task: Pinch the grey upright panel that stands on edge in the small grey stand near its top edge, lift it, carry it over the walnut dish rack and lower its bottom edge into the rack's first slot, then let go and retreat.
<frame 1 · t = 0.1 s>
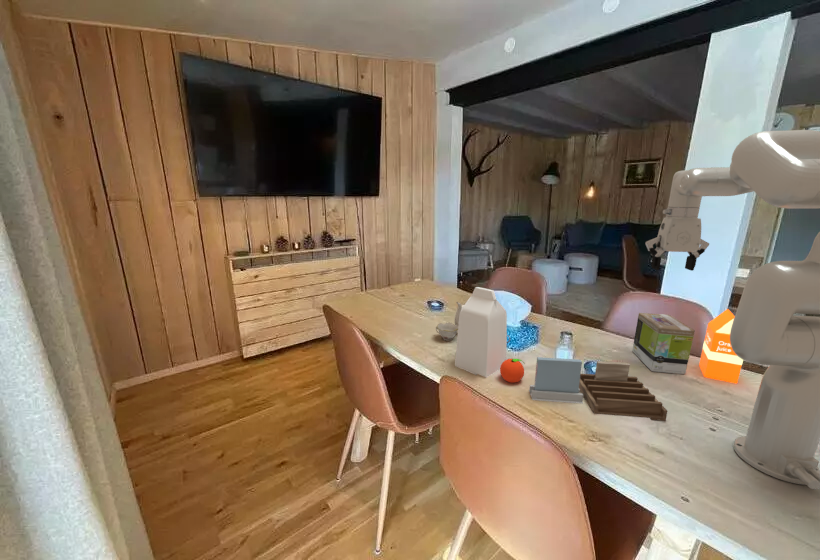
hand: (672, 269, 108), 31 cm above the table, tool pointing down, fingers open, 9 cm apart
chinaware: (471, 339, 134), on the table
milk: (480, 366, 112), on the table
clementine: (512, 381, 104), on the table
grey upright panel: (555, 396, 94), point 1 cm above the table, touching stand
rack: (616, 401, 93), on the table
stand: (554, 398, 95), on the table
tea box: (656, 362, 114), on the table
orange juice: (716, 374, 107), on the table
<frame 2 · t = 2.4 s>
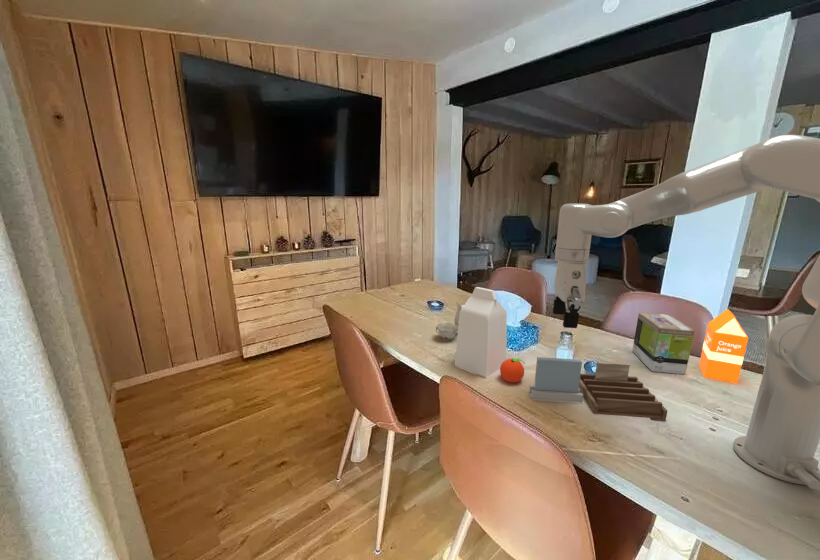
hand: (564, 320, 89), 23 cm above the table, tool pointing down, fingers open, 9 cm apart
nothing on the table moved.
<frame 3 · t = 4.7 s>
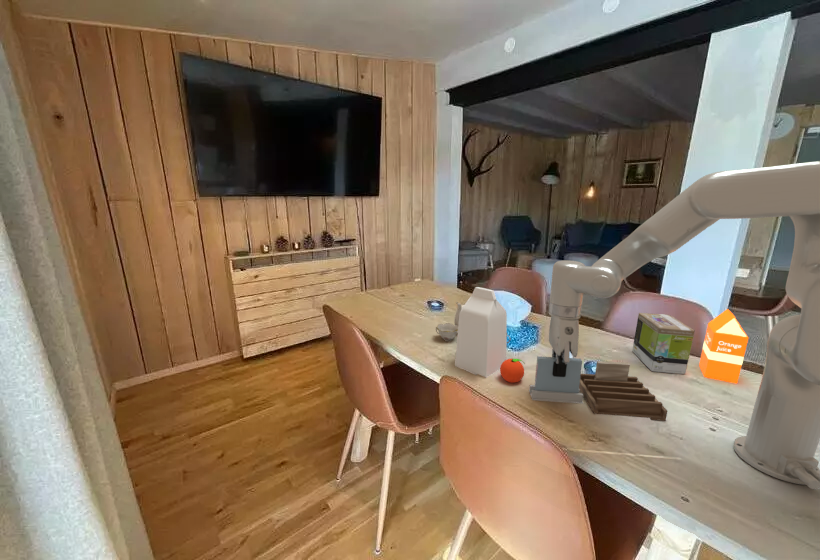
hand: (557, 374, 93), 7 cm above the table, tool pointing down, fingers closed on grey upright panel, 1 cm apart
grey upright panel: (555, 395, 94), point 1 cm above the table, touching gripper
everything else where it was.
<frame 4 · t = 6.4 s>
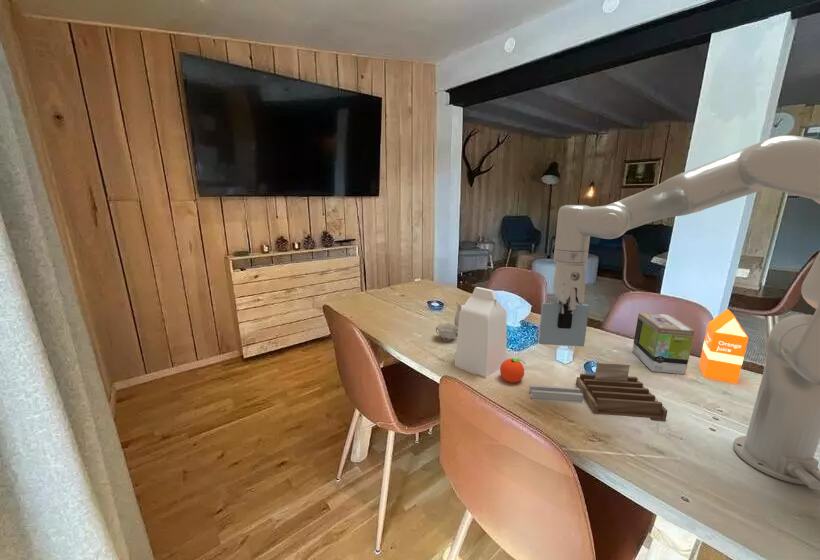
hand: (563, 326, 89), 21 cm above the table, tool pointing down, fingers closed on grey upright panel, 1 cm apart
grey upright panel: (560, 344, 91), point 16 cm above the table, touching gripper
everything else where it was.
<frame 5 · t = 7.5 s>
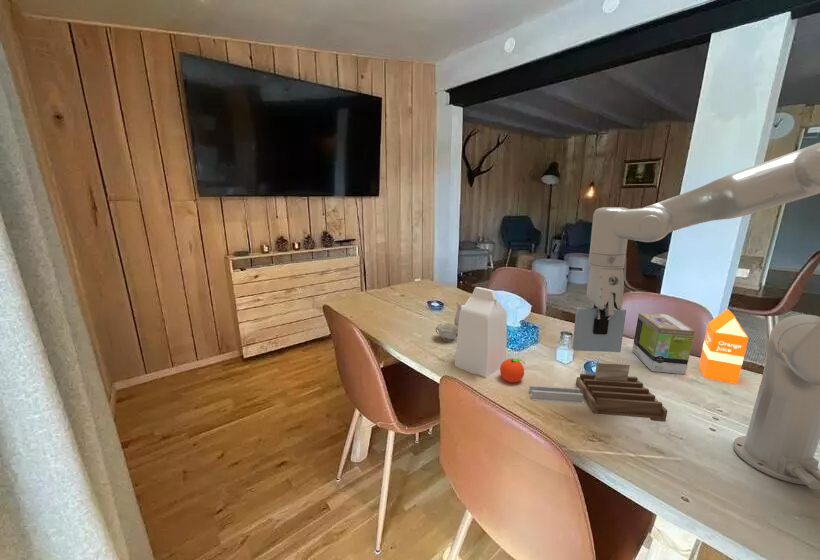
hand: (598, 332, 87), 21 cm above the table, tool pointing down, fingers closed on grey upright panel, 1 cm apart
grey upright panel: (596, 350, 88), point 16 cm above the table, touching gripper
everything else where it was.
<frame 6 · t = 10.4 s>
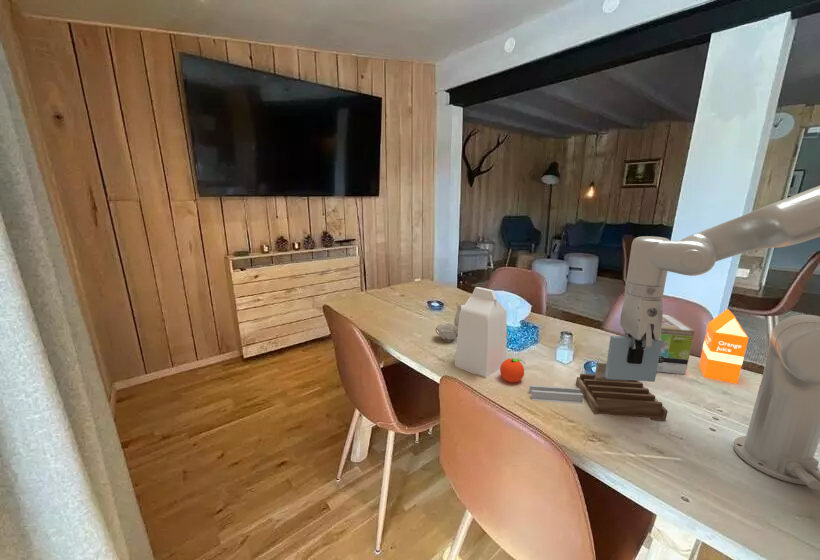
hand: (632, 361, 86), 14 cm above the table, tool pointing down, fingers closed on grey upright panel, 1 cm apart
grey upright panel: (629, 378, 87), point 9 cm above the table, touching gripper
everything else where it was.
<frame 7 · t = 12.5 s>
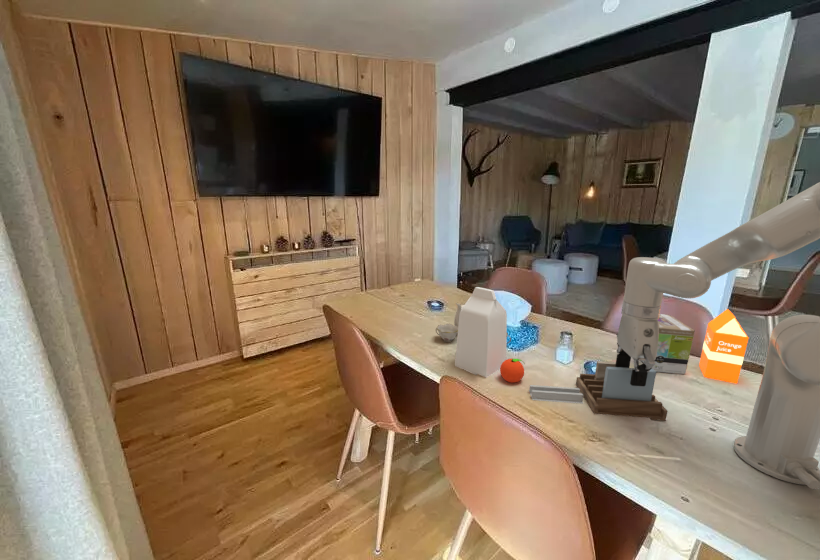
hand: (629, 376, 87), 10 cm above the table, tool pointing down, fingers open, 7 cm apart
grey upright panel: (624, 408, 89), point 1 cm above the table, touching rack
everything else where it was.
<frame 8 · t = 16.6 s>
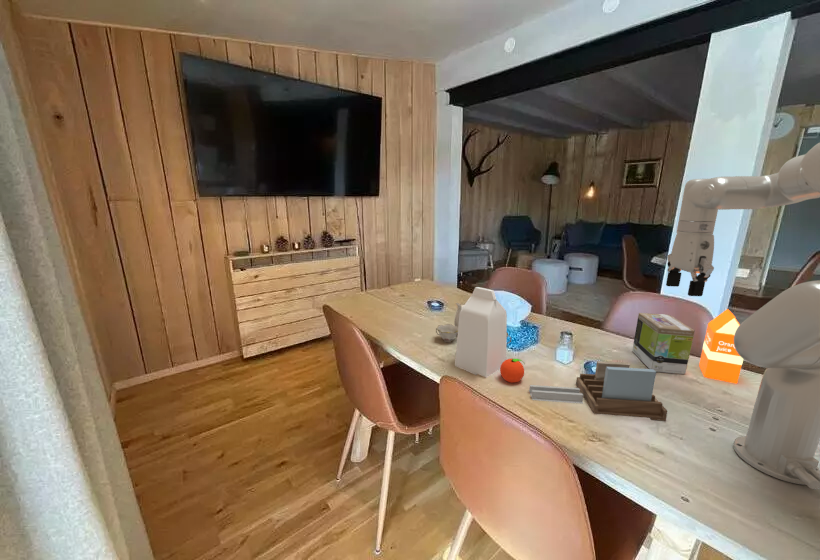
hand: (683, 290, 95), 28 cm above the table, tool pointing down, fingers open, 9 cm apart
at the end: grey upright panel 0.1 cm from the target spot on the rack, point 0.8 cm above the rack's base; grey upright panel tilted 0°; the gripper is holding nothing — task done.
